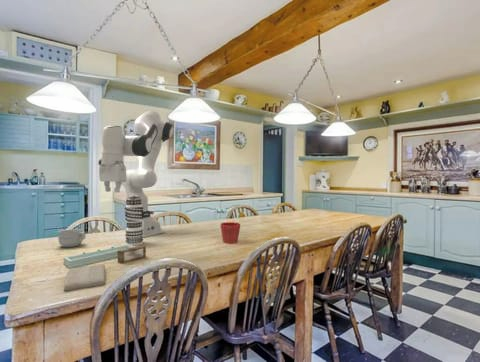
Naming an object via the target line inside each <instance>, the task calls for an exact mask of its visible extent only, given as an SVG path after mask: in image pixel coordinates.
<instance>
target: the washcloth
mask: <svg viewBox="0 0 480 362" xmlns="http://www.w3.org/2000/svg"><path fill="white" fill-rule="evenodd" d="M105 266H106V265H105V264H104V263H103V264H102V263H101V264H96V265H91V266H78V267H74V268H69V270H68V271H67V272H66V276H65V280H64V286H63V289H64V291H66V292H67V291H74V289H76V290H79V289H78V288H80V289H85V287H86V288H93V287H92V286H94V287H98V286H99V285H100V286H104V285H105V284H106V280H105V277H106V274H105V271H106V270H105Z"/></svg>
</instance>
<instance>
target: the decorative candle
mask: <svg viewBox="0 0 480 362" xmlns="http://www.w3.org/2000/svg"><path fill="white" fill-rule="evenodd" d="M125 200H126V201H125V202H126V203H125V207H124V210H125V211H124V217H125V223H126V227H125V228H126V230H125V242H126V243H125V245H131V246H133V247H135V246H141V245H143V244H144V242H143V241H144V239H143V238H144V237H143V236H142V234H143V232H142V231H143V230H142V221H143V220H142V219H143V217H141V216H143V214H141V212H143V210H141V209H143V207H142V198H141V197H140V196H137V195H133V196H128V197H127V196H126V198H125Z"/></svg>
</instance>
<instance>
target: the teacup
mask: <svg viewBox="0 0 480 362" xmlns="http://www.w3.org/2000/svg"><path fill="white" fill-rule="evenodd" d="M57 233H58V243H59V245H60V246H62V247H63V248H73V247H77V246H80V244H82V242H83V241H84V240H85V239H86V233H85V232H84V229H82V228H73V229H63V230H58V232H57Z"/></svg>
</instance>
